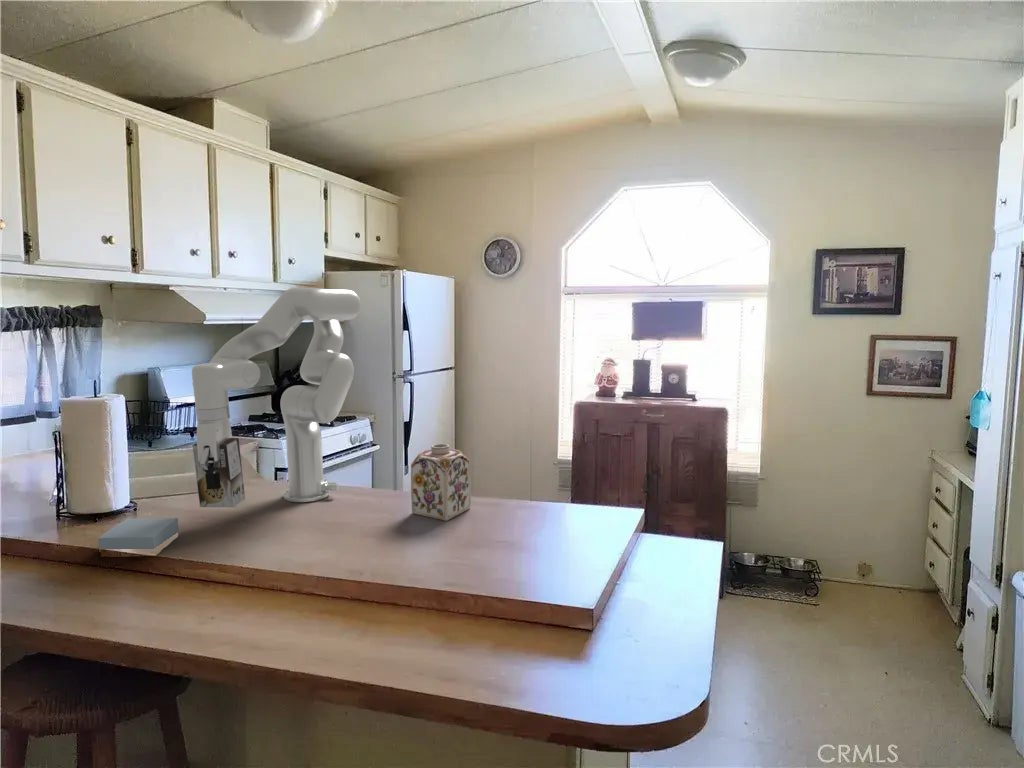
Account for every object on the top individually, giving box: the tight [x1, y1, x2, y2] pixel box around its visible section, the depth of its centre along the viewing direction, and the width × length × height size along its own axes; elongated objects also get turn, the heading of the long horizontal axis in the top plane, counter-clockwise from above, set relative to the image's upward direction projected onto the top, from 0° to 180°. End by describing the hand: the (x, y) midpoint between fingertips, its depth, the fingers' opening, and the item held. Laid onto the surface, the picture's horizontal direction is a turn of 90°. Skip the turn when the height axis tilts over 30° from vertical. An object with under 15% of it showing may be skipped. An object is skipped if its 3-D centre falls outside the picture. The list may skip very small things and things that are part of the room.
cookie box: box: [191, 437, 246, 508], centre depth 171 cm, size 9×6×16 cm
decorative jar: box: [410, 443, 472, 522], centre depth 181 cm, size 12×12×18 cm
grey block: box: [97, 517, 180, 551], centre depth 159 cm, size 12×12×5 cm
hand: (220, 483), depth 171 cm, fingers closed on cookie box, 6 cm apart
